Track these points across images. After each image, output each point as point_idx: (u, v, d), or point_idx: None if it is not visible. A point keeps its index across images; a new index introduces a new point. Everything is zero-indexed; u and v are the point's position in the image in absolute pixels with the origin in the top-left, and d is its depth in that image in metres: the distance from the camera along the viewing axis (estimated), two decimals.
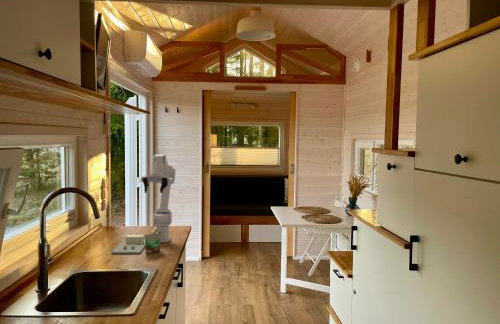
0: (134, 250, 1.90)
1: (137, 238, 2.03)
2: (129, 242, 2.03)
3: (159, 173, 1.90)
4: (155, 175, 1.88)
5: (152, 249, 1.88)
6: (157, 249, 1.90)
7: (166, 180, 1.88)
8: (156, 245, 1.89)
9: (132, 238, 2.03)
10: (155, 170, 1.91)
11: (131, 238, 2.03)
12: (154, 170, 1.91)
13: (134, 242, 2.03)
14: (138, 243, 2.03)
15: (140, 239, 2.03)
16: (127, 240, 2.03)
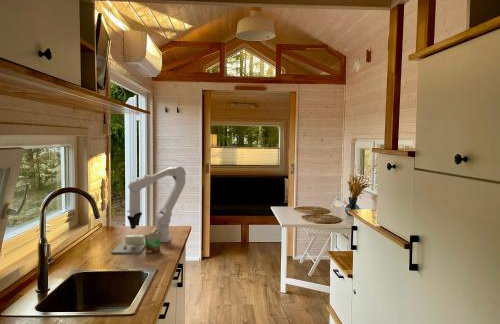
0: (134, 250, 1.90)
1: (137, 238, 2.03)
2: (129, 242, 2.03)
3: (130, 208, 2.02)
4: None
5: (152, 249, 1.88)
6: (157, 249, 1.90)
7: (129, 218, 1.98)
8: (156, 245, 1.89)
9: (132, 238, 2.03)
10: None
11: (131, 238, 2.03)
12: None
13: (134, 242, 2.03)
14: (138, 243, 2.03)
15: (140, 239, 2.03)
16: (127, 240, 2.03)
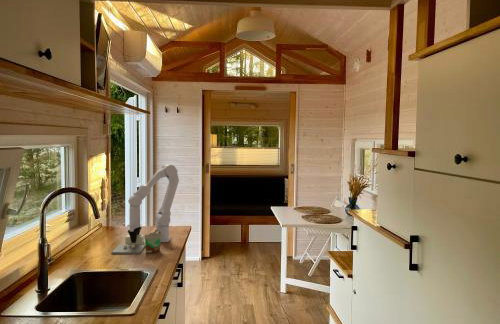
0: (134, 250, 1.90)
1: (137, 238, 2.03)
2: (129, 242, 2.03)
3: (130, 223, 2.03)
4: None
5: (152, 249, 1.88)
6: (157, 249, 1.90)
7: (129, 232, 2.00)
8: (156, 245, 1.89)
9: None
10: None
11: None
12: None
13: None
14: (138, 243, 2.03)
15: (140, 239, 2.03)
16: (127, 240, 2.03)
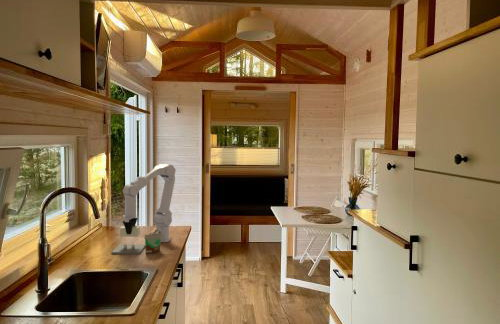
0: (134, 250, 1.90)
1: (132, 229, 1.93)
2: (124, 233, 1.93)
3: (125, 213, 1.93)
4: None
5: (152, 249, 1.88)
6: (157, 249, 1.90)
7: (124, 223, 1.90)
8: (156, 245, 1.89)
9: None
10: None
11: None
12: None
13: None
14: (133, 235, 1.93)
15: (136, 230, 1.93)
16: (122, 231, 1.93)
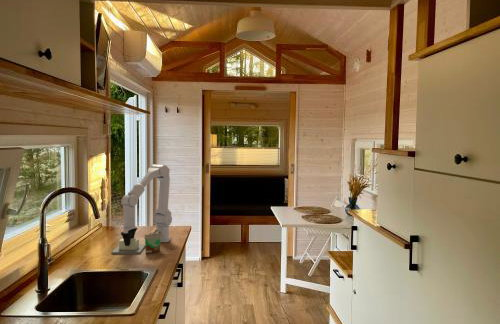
0: (134, 250, 1.90)
1: (131, 242, 1.91)
2: (123, 246, 1.91)
3: (124, 224, 1.91)
4: None
5: (152, 249, 1.88)
6: (157, 249, 1.90)
7: (123, 234, 1.87)
8: (156, 245, 1.89)
9: None
10: None
11: None
12: None
13: (128, 246, 1.91)
14: (132, 247, 1.91)
15: (135, 243, 1.91)
16: (121, 244, 1.90)
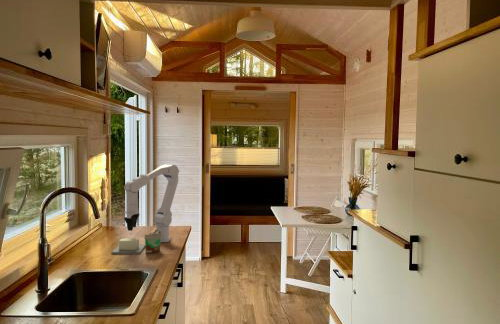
0: (134, 250, 1.90)
1: (131, 242, 1.91)
2: (123, 246, 1.91)
3: (127, 209, 1.96)
4: None
5: (152, 249, 1.88)
6: (157, 249, 1.90)
7: (126, 219, 1.92)
8: (156, 245, 1.89)
9: (126, 242, 1.91)
10: None
11: (125, 242, 1.91)
12: None
13: (128, 246, 1.91)
14: (132, 247, 1.91)
15: (135, 243, 1.91)
16: (121, 244, 1.90)
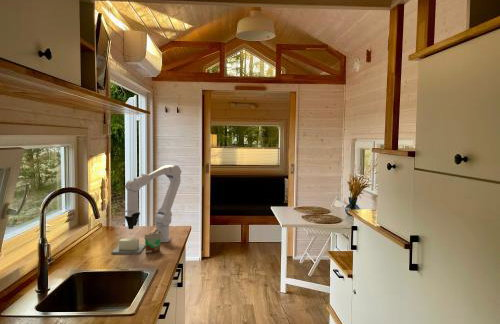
0: (134, 250, 1.90)
1: (131, 242, 1.91)
2: (123, 246, 1.91)
3: (127, 208, 1.97)
4: None
5: (152, 249, 1.88)
6: (157, 249, 1.90)
7: (126, 218, 1.94)
8: (156, 245, 1.89)
9: (126, 242, 1.91)
10: None
11: (125, 242, 1.91)
12: None
13: (128, 246, 1.91)
14: (132, 247, 1.91)
15: (135, 243, 1.91)
16: (121, 244, 1.90)
